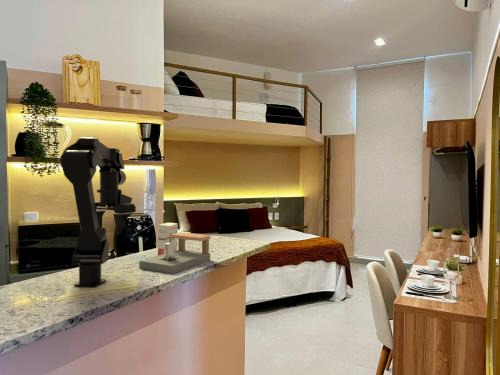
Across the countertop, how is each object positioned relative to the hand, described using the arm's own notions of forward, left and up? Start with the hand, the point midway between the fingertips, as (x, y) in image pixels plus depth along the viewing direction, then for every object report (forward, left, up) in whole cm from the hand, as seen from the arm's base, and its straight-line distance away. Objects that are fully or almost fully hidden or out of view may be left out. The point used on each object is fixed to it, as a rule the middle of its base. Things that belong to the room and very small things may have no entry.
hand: (109, 233), depth 125 cm
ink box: (+27, -11, -12) cm, 32 cm away
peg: (+6, -19, -12) cm, 23 cm away
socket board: (+10, -20, -12) cm, 25 cm away
